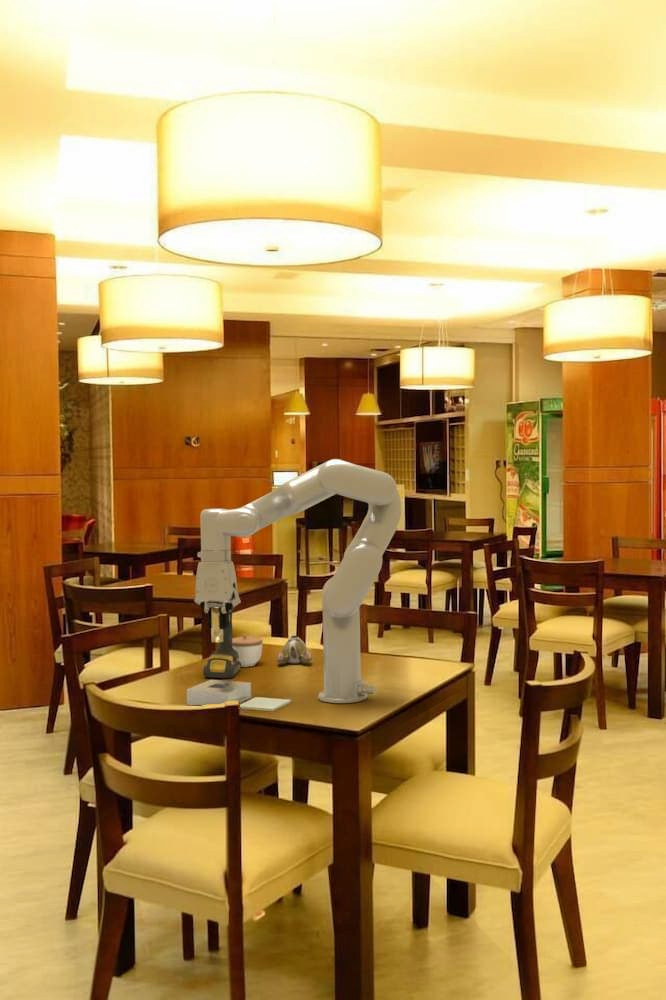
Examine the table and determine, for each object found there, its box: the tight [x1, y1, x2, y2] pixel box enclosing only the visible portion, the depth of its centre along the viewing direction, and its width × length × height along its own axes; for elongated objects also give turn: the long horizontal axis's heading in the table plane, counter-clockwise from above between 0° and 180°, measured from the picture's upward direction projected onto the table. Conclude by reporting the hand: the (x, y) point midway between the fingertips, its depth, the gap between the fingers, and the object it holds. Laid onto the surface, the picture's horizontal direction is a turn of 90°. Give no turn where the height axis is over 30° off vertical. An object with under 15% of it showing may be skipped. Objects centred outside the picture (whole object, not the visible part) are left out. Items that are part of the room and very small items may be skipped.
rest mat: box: [239, 696, 292, 712], centre depth 246 cm, size 10×10×1 cm
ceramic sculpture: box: [276, 635, 313, 665], centre depth 300 cm, size 11×9×15 cm
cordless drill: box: [202, 590, 242, 679], centre depth 282 cm, size 9×20×25 cm, turn 172°
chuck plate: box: [186, 679, 252, 706], centre depth 251 cm, size 12×12×4 cm
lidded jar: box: [232, 633, 263, 668], centre depth 298 cm, size 11×11×9 cm
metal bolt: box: [207, 602, 223, 643], centre depth 250 cm, size 5×5×10 cm
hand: (218, 627), depth 251 cm, fingers closed on metal bolt, 3 cm apart
